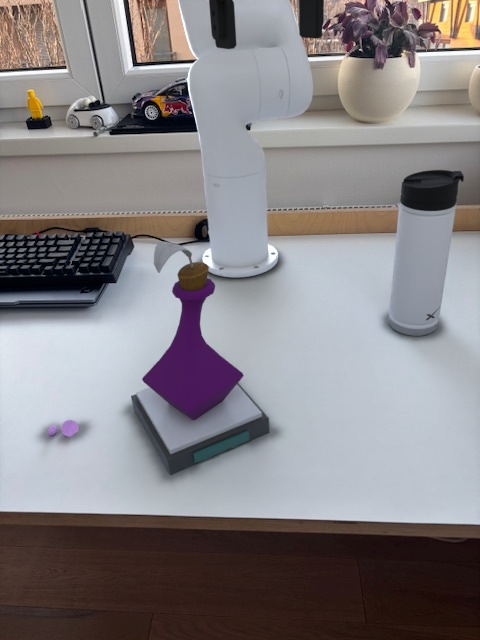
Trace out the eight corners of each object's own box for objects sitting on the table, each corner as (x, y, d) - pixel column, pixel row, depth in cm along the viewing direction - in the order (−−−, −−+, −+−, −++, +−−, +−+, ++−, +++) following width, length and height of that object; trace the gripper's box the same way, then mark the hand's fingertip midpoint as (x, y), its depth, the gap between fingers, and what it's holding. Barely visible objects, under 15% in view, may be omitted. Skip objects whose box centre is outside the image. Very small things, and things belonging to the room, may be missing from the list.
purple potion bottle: (199, 371, 61) (180, 220, 52) (246, 399, 56) (235, 239, 47) (145, 403, 57) (114, 245, 47) (191, 437, 52) (167, 269, 43)
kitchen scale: (133, 409, 60) (129, 391, 59) (222, 376, 64) (220, 359, 63) (171, 477, 52) (167, 457, 50) (271, 434, 56) (270, 415, 54)
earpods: (75, 440, 59) (74, 423, 60) (78, 436, 58) (78, 420, 58) (46, 441, 57) (46, 424, 58) (49, 437, 56) (49, 420, 57)
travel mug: (443, 338, 68) (468, 182, 58) (388, 335, 69) (403, 182, 59) (437, 312, 73) (460, 165, 63) (387, 310, 75) (401, 165, 64)
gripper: (323, -174, 51) (320, 32, 60) (147, -183, 44) (174, 50, 53) (376, -197, 45) (363, 35, 54) (183, -212, 38) (206, 55, 48)
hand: (269, 42), depth 54 cm, fingers open, 9 cm apart
